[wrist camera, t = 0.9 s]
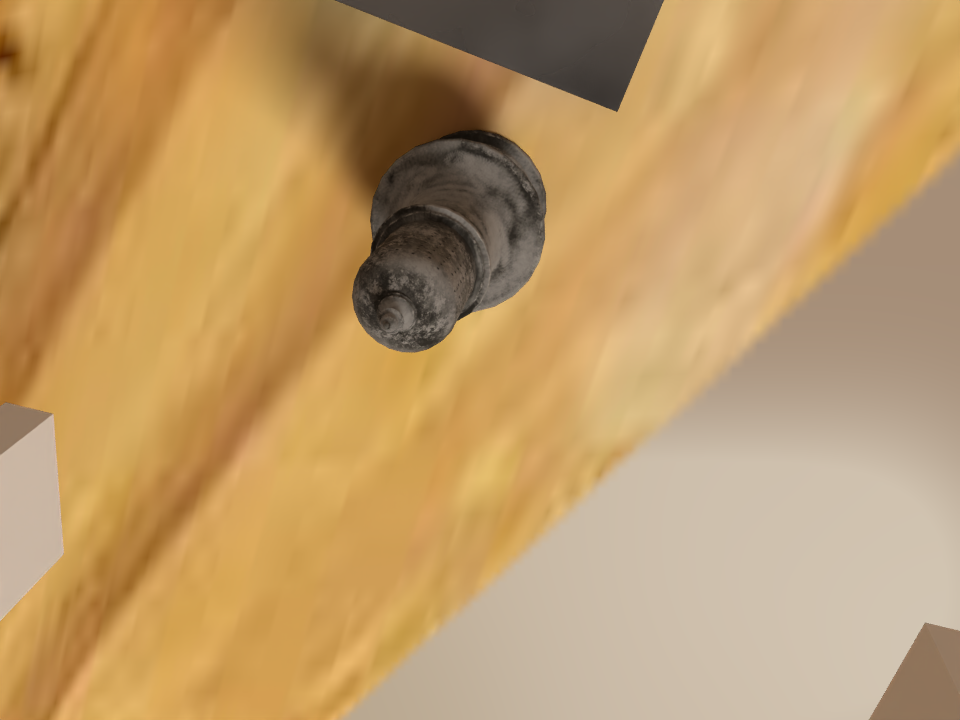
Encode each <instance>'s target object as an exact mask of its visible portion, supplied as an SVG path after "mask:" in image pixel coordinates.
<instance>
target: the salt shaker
mask: <svg viewBox="0 0 960 720" xmlns="http://www.w3.org/2000/svg"><path fill="white" fill-rule="evenodd" d="M545 214H546V192H545V188H544V185H543V182H542V179H541V175H540V173H539V171H538V170H537V168H536V166H535V165H534V163H533V162H532V160H531V158H530V157H529V156H528V155H527V154H526V153H525V152H524V151H523V150H522V149H521V148H519V147H518V146H517V145H516V144H515V143H513V142H511V141H509V140H508V139H506V138H504V137H502V136H500V135H498V134H494V133H490V132H485V131H481V130H471V131H459V132H456V133H453V134H450V135H447V136H444V137H442V138H440V139H437V140H434V141H431V142H428V143H425V144H422V145H419V146H416V147H414V148H413V149H412V150H410V151H409V152H407V153H406V154H404V155H403V156H401V157H400V158H398V159H397V160H396V161H395V162H394V163H393V165H392V166H391V167H390V168H389V170H388V171H387V172H386V173H385V174H384V176H383V177H382V179H381V181H380V183H379V186H378V188H377V190H376V193H375V195H374V197H373V203H372V211H371V218H370V222H371V230H372V238H373V242H372V246H371V254H370V256H369V257H368V258H367V260H366V261H365V262H364V263H363V264H362V265H361V267H360V268H359V271H358V273H357V275H356V278H355V281H354V285H353V294H352V299H353V306H354V311H355V313H356V315H357V318H358V320H359V322H360V324H361V325H362V327H363V328H364V329H365V331H366V332H367V333H368V334H369V335H370V336H371V337H372V338H373V339H375V340H376V341H377V342H378V343H380V344H382V345H384V346H386V347H388V348H389V349H393V350H397V351H400V352H419V351H423V350H427V349H429V348H431V347H433V346H434V345H436V344H438V343H439V342H441V341H442V340H443V339H444V338H445V337H446V336H447V335H448V334H449V333H450V332H451V331H452V329H453V327H454V325H455V323H456V321H458V320H460V319H461V318H463V317H465V316H467V315H468V314H470V313H471V312H476V311H479V310H483V309H487V308H491V307H495V306H497V305H498V304H500V303H502V302H504V301H505V300H507V299H509V298H511V297H512V296H514V295H515V294H516V293H517V292H518V291H519V290H520V289H521V288H522V287H523V286H524V285H525V284H526V283H527V282H528V281H529V279H530V277H531V276H532V274H533V272H534V270H535V268H536V267H537V265H538V263H539V261H540V257H541V253H542V249H543V245H544V241H545V224H544V218H545Z"/></svg>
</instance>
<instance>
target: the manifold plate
mask: <svg viewBox="0 0 960 720" xmlns="http://www.w3.org/2000/svg"><path fill="white" fill-rule="evenodd" d="M336 1H338V2H341V3H343V4H346V5H348V6H351V7H353V8H356V9H358V10H361V11H363V12H366V13H369V14H371V15H374V16H376V17H379V18H381V19H384V20H386V21H389V22H391V23H394V24H396V25H399V26H401V27H404V28H406V29H409V30H412V31H414V32H417V33H419V34H422V35H424V36H427V37H429V38H432V39H434V40H437V41H439V42H442V43H444V44H447V45H449V46H452V47H455V48H457V49H460V50H462V51H465V52H467V53H470V54H472V55H475V56H477V57H480V58H482V59H485V60H487V61H490V62H492V63H495V64H498V65H500V66H503V67H505V68H508V69H510V70H513V71H515V72H518V73H520V74H523V75H525V76H528V77H530V78H533V79H535V80H538V81H541V82H543V83H546V84H548V85H551V86H553V87H556V88H558V89H561V90H563V91H566V92H568V93H571V94H573V95H576V96H578V97H581V98H584V99H586V100H589V101H591V102H594V103H596V104H599V105H601V106H604V107H606V108H609V109H611V110H614V111H616V112H617V111H618V109H619V107H620V104H621V102H622V99H623V97H624V95H625V92H626V90H627V87H628V85H629V83H630V80H631V78H632V75H633V73H634V71H635V68H636V66H637V63H638V61H639V59H640V56H641V54H642V51H643V49H644V47H645V44H646V42H647V39H648V37H649V35H650V32H651V30H652V27H653V25H654V23H655V20H656V18H657V15H658V13H659V11H660V8H661V6H662V3H663V1H664V0H336Z"/></svg>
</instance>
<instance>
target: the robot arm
mask: <svg viewBox="0 0 960 720" xmlns="http://www.w3.org/2000/svg"><path fill="white" fill-rule="evenodd" d="M63 554H64V550H63V537H62V524H61V510H60V497H59V484H58V470H57V457H56V444H55V431H54V417H53V414H52V413H48V412H43V411H39V410H35V409H31V408H27V407H22V406H18V405H14V404H10V403H4V404H3V405H1V406H0V621H1V620H2V618H3V617H4V616H5V615H6V614H7V613H8V612H9V611H10V610H11V609H12V608H13V607H14V606H15V605H16V604H17V603H18V602H19V601H20V600H21V598H22V597H23V596H24V595H25V594H26V593H27V592H28V591H29V590H30V589H31V588H32V587H33V586H34V585H35V584H36V583H37V582H38V581H39V580H40V578H41V577H42V576H43V575H44V574H45V573H46V572H47V571H48V570H49V569H50V568H51V567H52V566H53V565H54V564H55V563H56V562H57V561H58V560H59V558H60V557H61V556H62V555H63ZM869 720H960V631H958V630H954V629H949V628H945V627H941V626H937V625H933V624H929V623H925V624H924V625H923V628H922V629H921V631H920V632H919V634H918V636H917V638H916V639H915V641H914V643H913V645H912V646H911V648H910V650H909V652H908V653H907V655H906V657H905V659H904V660H903V662H902V664H901V665H900V667H899V669H898V671H897V672H896V674H895V676H894V677H893V679H892V681H891V683H890V685H889V686H888V688H887V690H886V691H885V693H884V695H883V697H882V698H881V700H880V702H879V704H878V705H877V707H876V709H875V710H874V712H873V714H872V716H871V717H870V719H869Z"/></svg>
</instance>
